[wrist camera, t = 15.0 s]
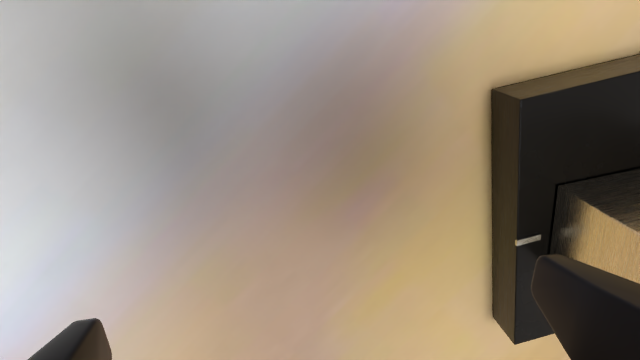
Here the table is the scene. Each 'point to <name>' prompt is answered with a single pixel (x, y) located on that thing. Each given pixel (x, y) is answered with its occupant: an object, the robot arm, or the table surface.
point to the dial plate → (552, 169)
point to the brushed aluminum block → (600, 223)
